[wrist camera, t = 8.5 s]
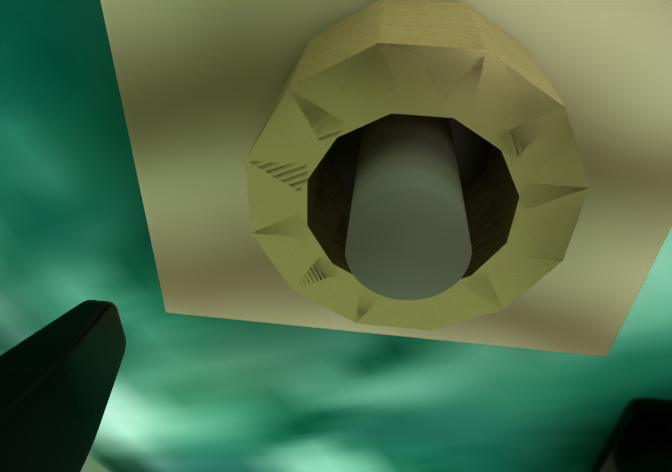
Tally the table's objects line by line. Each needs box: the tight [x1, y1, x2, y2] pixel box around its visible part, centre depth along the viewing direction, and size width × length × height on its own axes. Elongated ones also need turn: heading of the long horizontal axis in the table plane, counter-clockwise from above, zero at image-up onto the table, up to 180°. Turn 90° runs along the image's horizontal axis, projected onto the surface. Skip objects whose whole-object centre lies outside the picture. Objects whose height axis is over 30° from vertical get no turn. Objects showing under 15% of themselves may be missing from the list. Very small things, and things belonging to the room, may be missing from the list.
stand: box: [100, 0, 672, 357], centre depth 13 cm, size 16×16×7 cm
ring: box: [245, 0, 590, 330], centre depth 13 cm, size 7×7×4 cm
